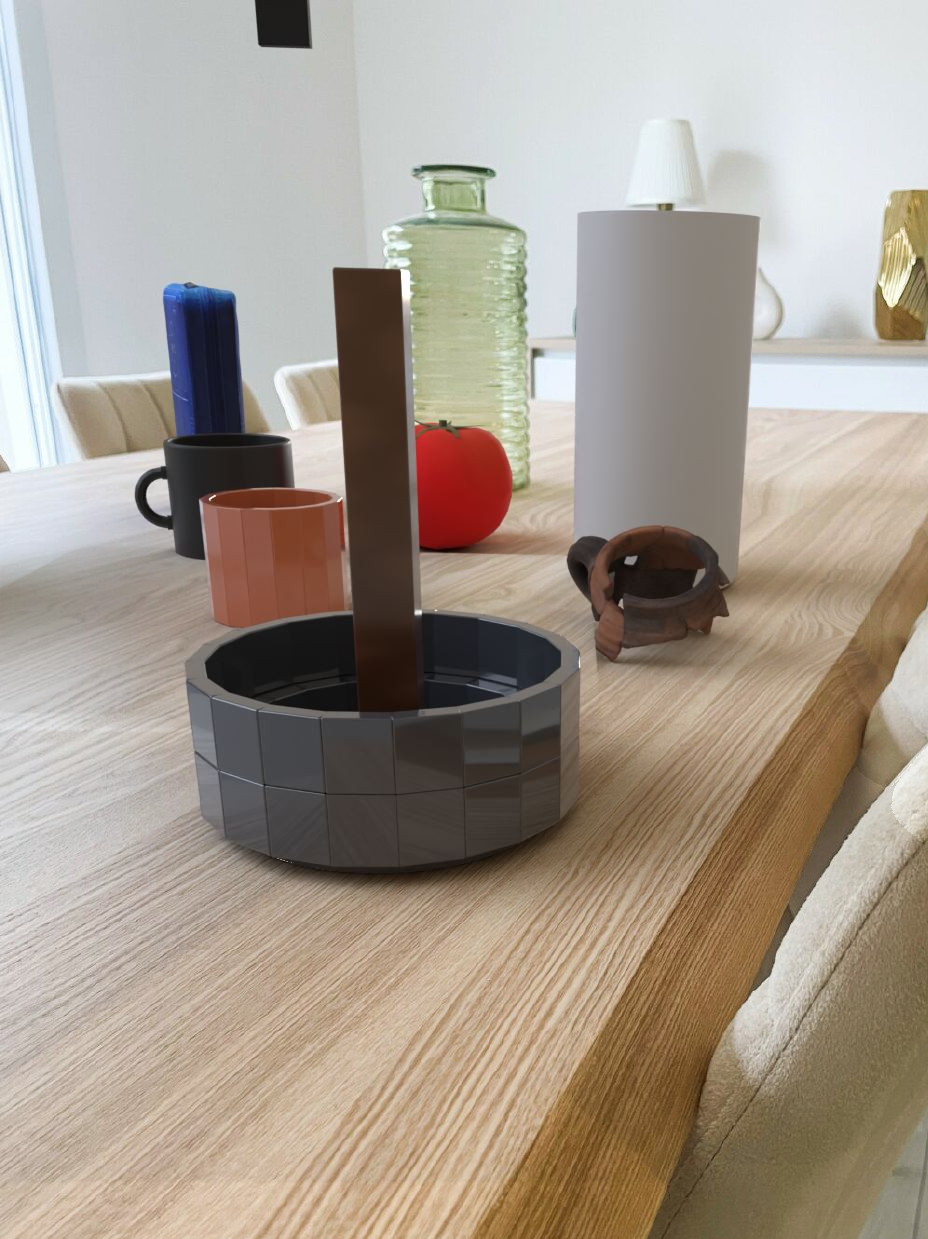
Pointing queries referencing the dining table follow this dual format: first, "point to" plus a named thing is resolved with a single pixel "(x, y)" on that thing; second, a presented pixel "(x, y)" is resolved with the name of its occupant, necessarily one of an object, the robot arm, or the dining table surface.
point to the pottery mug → (648, 586)
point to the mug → (212, 478)
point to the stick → (380, 484)
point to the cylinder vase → (664, 373)
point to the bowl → (384, 743)
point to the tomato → (459, 484)
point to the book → (204, 359)
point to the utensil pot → (273, 554)
